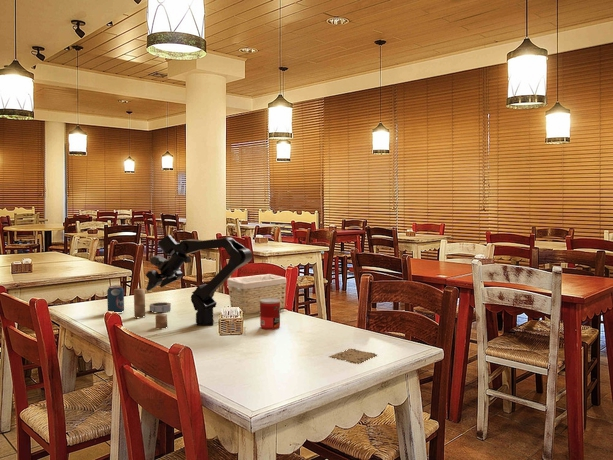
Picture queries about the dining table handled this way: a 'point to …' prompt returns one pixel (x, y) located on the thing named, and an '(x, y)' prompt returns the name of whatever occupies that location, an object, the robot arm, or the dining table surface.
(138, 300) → the tall walnut peg
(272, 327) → the canned food
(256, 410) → the dining table surface
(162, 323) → the short walnut peg
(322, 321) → the dining table surface
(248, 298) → the storage basket
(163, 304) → the steel ring socket
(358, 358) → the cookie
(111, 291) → the soda can
